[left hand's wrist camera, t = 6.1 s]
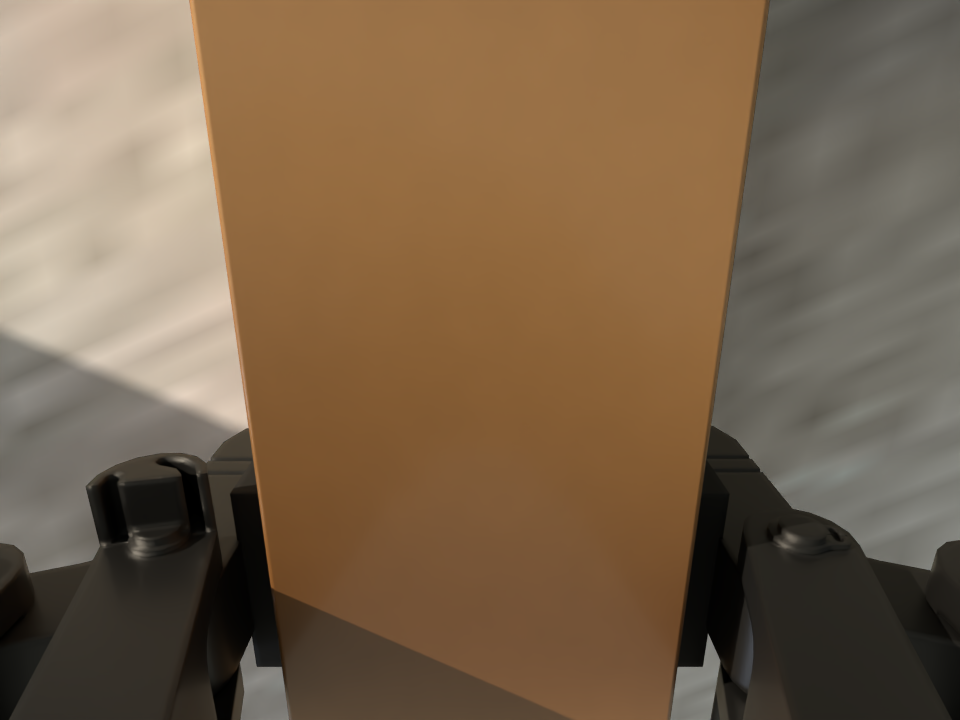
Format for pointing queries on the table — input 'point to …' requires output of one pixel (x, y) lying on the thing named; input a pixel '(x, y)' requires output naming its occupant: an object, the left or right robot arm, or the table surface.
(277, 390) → the beam
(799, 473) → the table surface
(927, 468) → the table surface
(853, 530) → the table surface
